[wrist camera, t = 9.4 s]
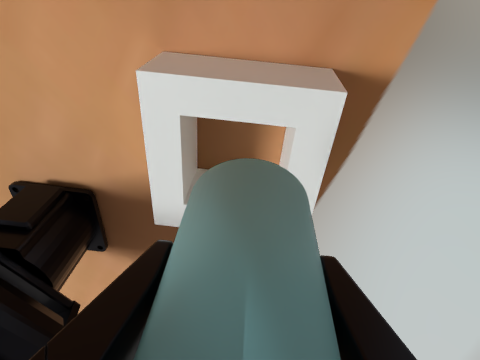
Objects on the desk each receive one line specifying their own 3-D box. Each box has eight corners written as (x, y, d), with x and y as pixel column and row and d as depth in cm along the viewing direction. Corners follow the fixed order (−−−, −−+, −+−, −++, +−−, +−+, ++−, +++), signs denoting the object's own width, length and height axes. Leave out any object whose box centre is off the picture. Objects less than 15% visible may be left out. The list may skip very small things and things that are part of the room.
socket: (299, 201, 22) (304, 242, 18) (172, 186, 22) (154, 224, 19) (332, 68, 16) (347, 92, 13) (162, 51, 16) (135, 70, 13)
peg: (297, 256, 11) (348, 672, 4) (190, 246, 11) (83, 639, 4) (321, 164, 9) (500, 736, 2) (187, 152, 9) (-43, 670, 2)
